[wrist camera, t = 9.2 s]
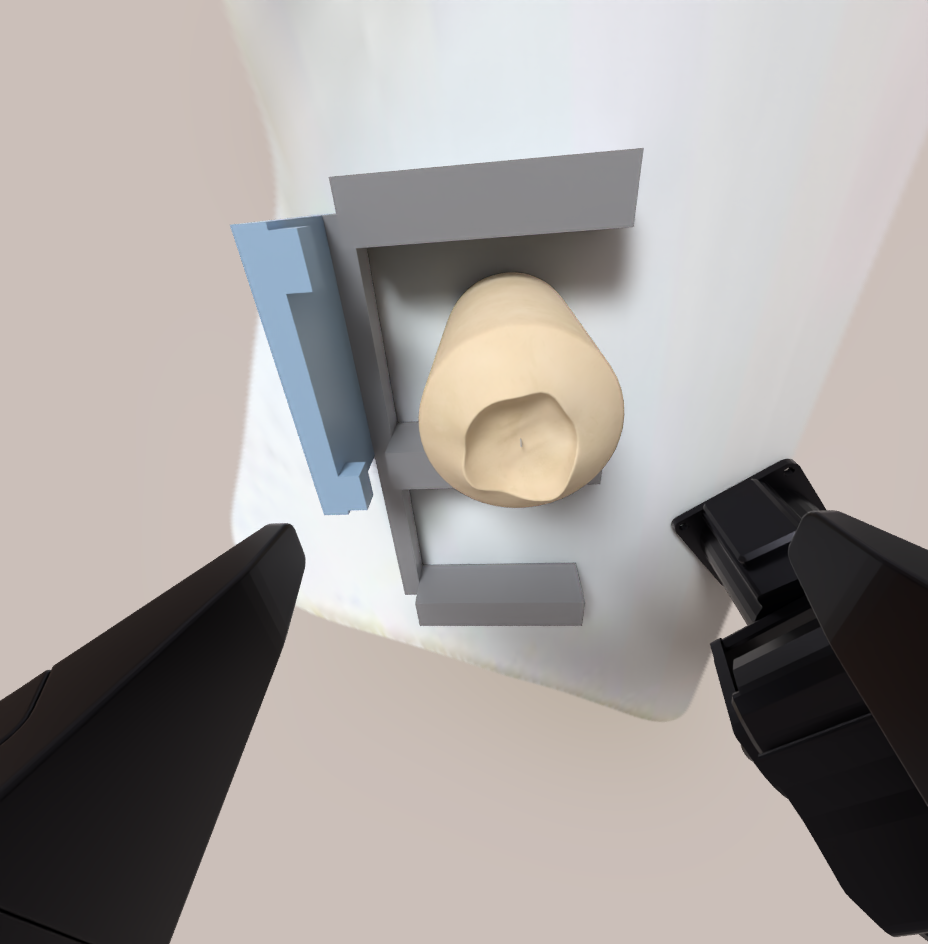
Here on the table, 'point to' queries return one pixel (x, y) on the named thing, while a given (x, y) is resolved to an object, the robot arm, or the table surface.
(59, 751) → the robot arm
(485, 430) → the candle
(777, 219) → the table surface
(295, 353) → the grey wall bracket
